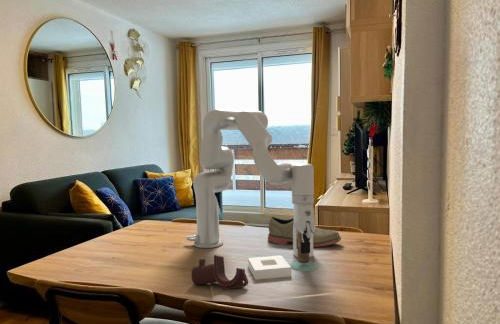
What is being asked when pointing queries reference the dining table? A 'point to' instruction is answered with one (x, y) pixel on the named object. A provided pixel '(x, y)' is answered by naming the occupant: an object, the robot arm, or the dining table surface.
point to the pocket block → (269, 267)
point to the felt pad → (303, 266)
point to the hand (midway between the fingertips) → (303, 250)
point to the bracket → (217, 274)
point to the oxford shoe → (284, 233)
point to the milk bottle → (295, 250)
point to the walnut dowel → (301, 257)
